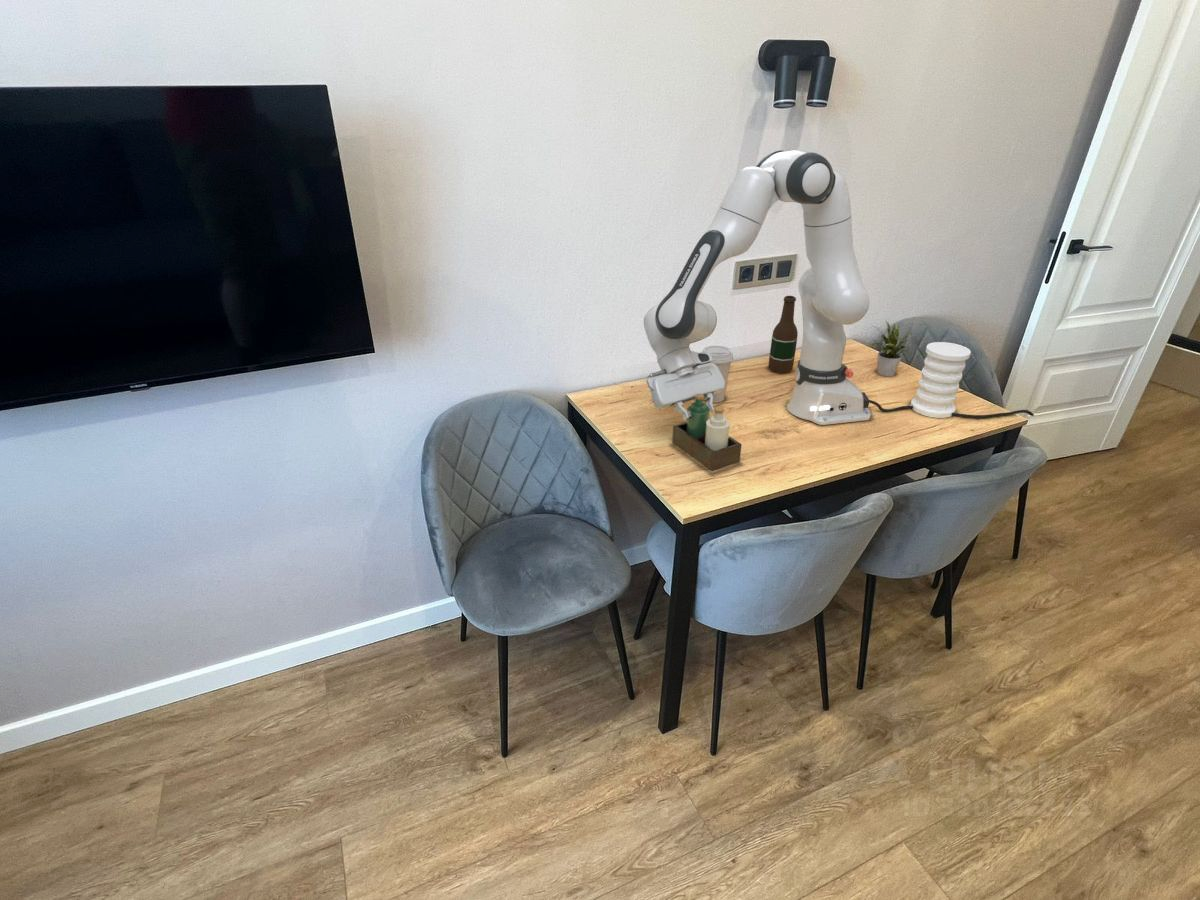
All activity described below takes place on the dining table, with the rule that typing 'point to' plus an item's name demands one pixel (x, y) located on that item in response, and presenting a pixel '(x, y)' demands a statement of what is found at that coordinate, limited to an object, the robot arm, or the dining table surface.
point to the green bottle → (697, 417)
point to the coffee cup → (720, 365)
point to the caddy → (706, 449)
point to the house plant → (890, 352)
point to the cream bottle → (717, 430)
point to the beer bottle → (784, 339)
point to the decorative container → (940, 379)
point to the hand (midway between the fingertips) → (699, 415)
